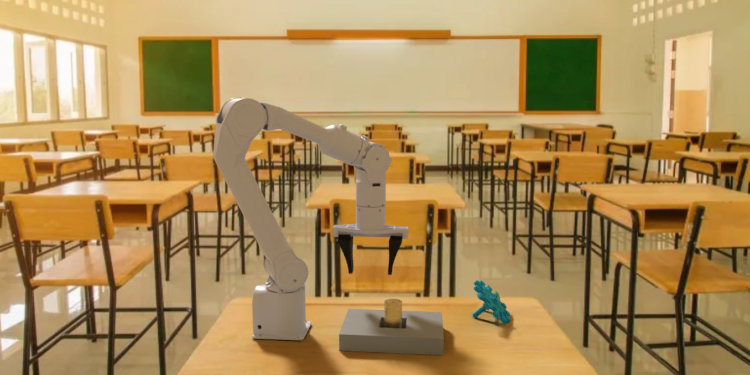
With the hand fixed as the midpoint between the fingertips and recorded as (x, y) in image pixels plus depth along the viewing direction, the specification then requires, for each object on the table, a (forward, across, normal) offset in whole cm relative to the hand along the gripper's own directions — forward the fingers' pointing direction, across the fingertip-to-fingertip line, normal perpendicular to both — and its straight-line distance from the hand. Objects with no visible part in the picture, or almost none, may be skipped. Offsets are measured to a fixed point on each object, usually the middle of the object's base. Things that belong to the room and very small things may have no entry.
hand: (370, 272), depth 115 cm
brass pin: (+9, -5, +9) cm, 14 cm away
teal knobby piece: (+10, -24, -2) cm, 26 cm away
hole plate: (+9, -5, +9) cm, 14 cm away
